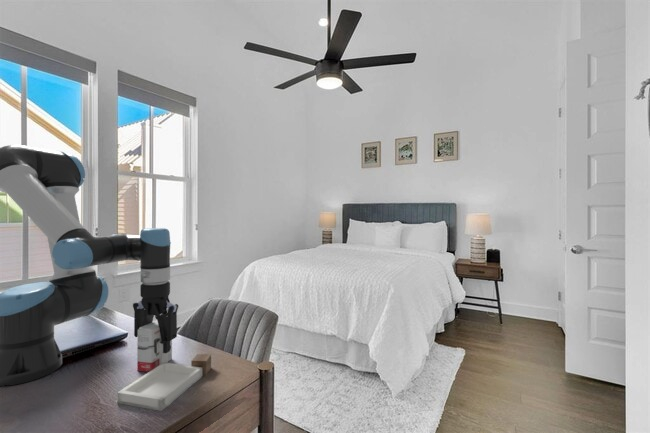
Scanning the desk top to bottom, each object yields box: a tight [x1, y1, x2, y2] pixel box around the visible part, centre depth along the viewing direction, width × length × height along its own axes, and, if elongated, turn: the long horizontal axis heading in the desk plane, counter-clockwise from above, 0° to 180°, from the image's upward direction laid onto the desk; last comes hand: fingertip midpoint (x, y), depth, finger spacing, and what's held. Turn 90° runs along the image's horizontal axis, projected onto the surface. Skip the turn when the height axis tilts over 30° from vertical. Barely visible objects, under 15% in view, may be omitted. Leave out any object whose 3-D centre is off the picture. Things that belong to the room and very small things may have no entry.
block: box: [190, 353, 212, 376], centre depth 88 cm, size 4×4×4 cm
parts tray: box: [116, 362, 203, 412], centre depth 79 cm, size 12×15×2 cm
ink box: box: [136, 319, 173, 373], centre depth 91 cm, size 9×5×12 cm, turn 168°
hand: (155, 362), depth 91 cm, fingers closed on ink box, 5 cm apart
